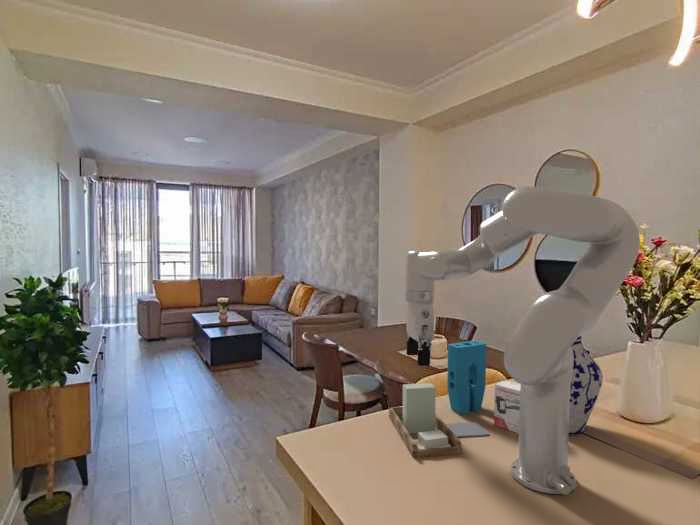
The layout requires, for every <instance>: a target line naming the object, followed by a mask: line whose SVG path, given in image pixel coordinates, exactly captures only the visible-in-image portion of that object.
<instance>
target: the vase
mask: <svg viewBox="0 0 700 525" xmlns="http://www.w3.org/2000/svg"><path fill="white" fill-rule="evenodd" d="M571 347H572V350H573V355H574V364H573V372H572V378H571V386H570V404H569V436H571V435H572V436H574V435H575V436H576V435H580V434H583V432H584V431H585V428H586V425H587V423H588V421H589V419H590V416H591V414H592V412H593V409H594V406H595V405H596V402H597V401H598V397H599V394H600V391H601V389H602V385H603V378H604V376H603V372H602V370H601V368H600V365H599V364H598V363H597V362H596V360H594V358H593V357H592V356H591V355H590V354H589V353H588V351H587V350H586V349H585V347H584V346H583V343H582V335H581V336H579V337H578V338H577V339H576V340H575V341H574V343H573V344H572V346H571Z"/></svg>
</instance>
